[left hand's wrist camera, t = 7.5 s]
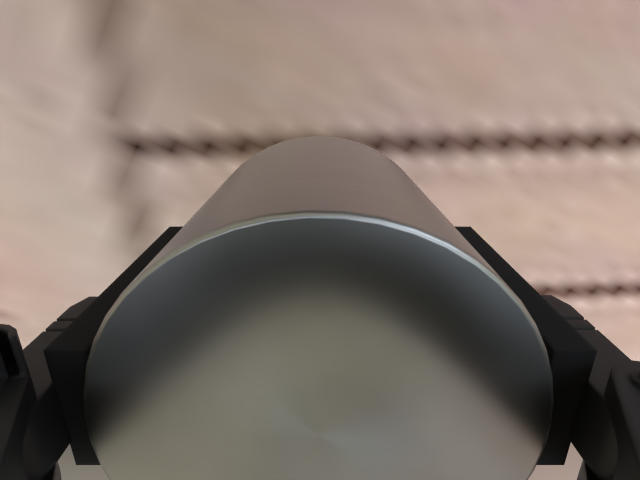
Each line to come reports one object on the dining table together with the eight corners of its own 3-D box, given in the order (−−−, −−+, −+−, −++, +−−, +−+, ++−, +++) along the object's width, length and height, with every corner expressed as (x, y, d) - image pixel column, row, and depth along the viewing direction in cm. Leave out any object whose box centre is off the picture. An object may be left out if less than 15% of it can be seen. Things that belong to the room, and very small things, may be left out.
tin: (402, 102, 13) (523, 135, 5) (450, 312, 16) (576, 536, 8) (170, 177, 14) (-19, 300, 6) (254, 364, 17) (197, 611, 9)
